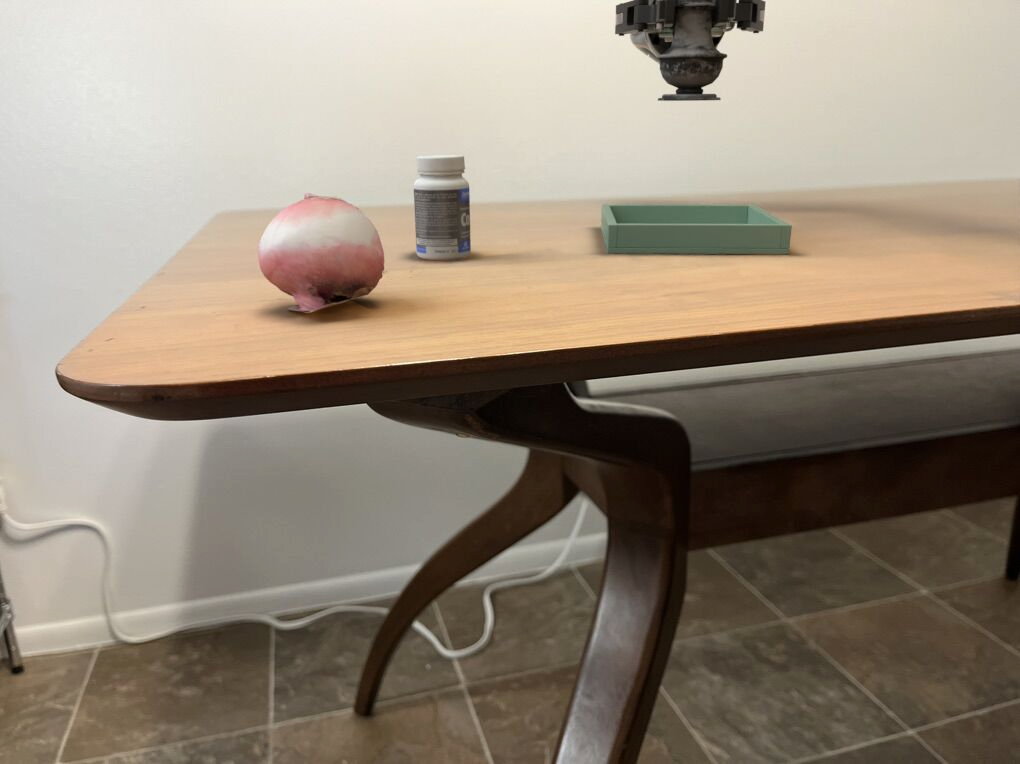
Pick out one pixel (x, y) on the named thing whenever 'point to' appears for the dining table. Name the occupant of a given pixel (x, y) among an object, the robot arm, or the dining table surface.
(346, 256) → the onion
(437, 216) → the pill bottle
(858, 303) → the dining table surface
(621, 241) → the tray
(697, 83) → the salt shaker
